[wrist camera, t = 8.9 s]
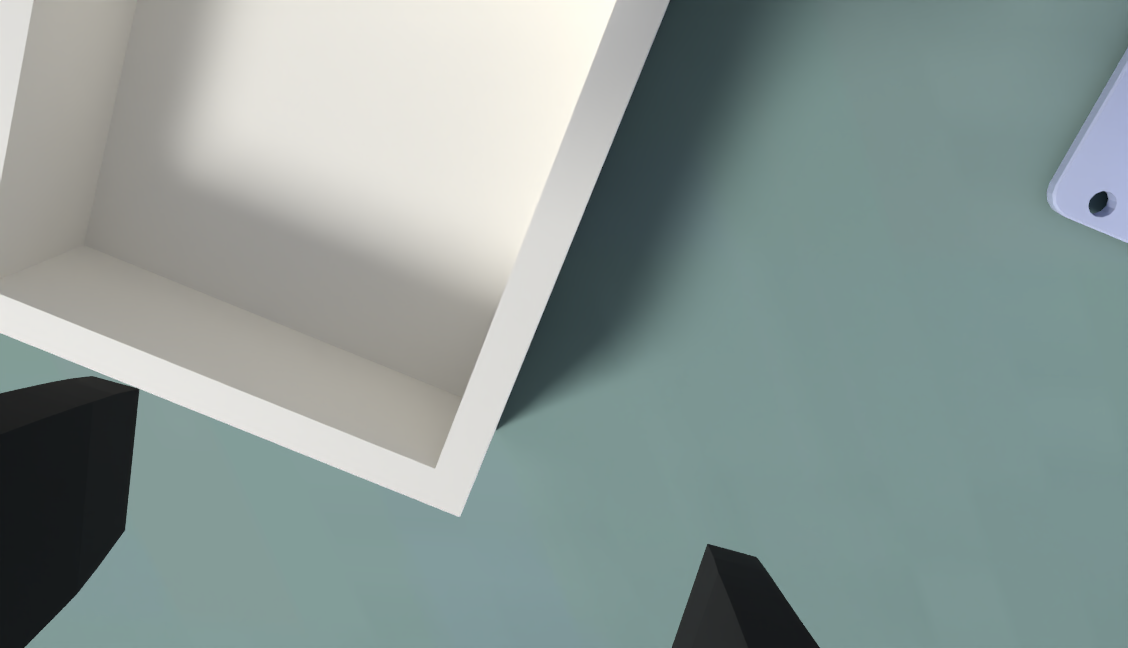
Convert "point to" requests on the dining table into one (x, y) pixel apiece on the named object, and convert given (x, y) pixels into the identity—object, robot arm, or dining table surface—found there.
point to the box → (308, 206)
